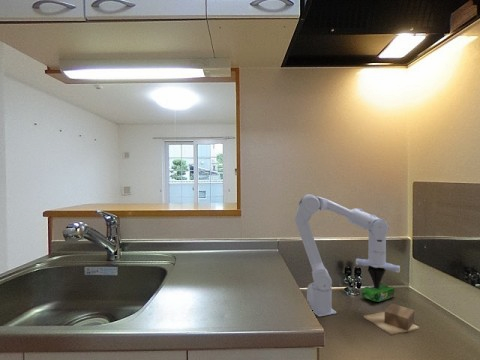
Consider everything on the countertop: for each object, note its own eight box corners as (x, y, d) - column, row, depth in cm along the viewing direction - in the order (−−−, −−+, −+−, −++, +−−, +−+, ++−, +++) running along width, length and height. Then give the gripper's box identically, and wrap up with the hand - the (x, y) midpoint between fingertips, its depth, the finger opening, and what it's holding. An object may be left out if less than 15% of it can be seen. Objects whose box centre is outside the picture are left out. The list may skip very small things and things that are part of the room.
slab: (384, 311, 94) (407, 318, 90) (392, 303, 100) (414, 310, 95) (384, 322, 95) (407, 330, 90) (392, 314, 100) (414, 321, 95)
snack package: (357, 299, 114) (357, 287, 114) (382, 291, 121) (382, 279, 121) (373, 306, 108) (373, 293, 108) (397, 298, 115) (397, 285, 115)
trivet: (363, 317, 99) (363, 315, 99) (389, 311, 103) (389, 310, 103) (391, 335, 88) (391, 333, 88) (419, 328, 92) (419, 327, 92)
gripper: (353, 249, 102) (353, 286, 103) (397, 256, 93) (397, 296, 93) (358, 245, 108) (358, 280, 108) (401, 252, 99) (401, 289, 99)
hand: (376, 287), depth 101 cm, fingers closed
